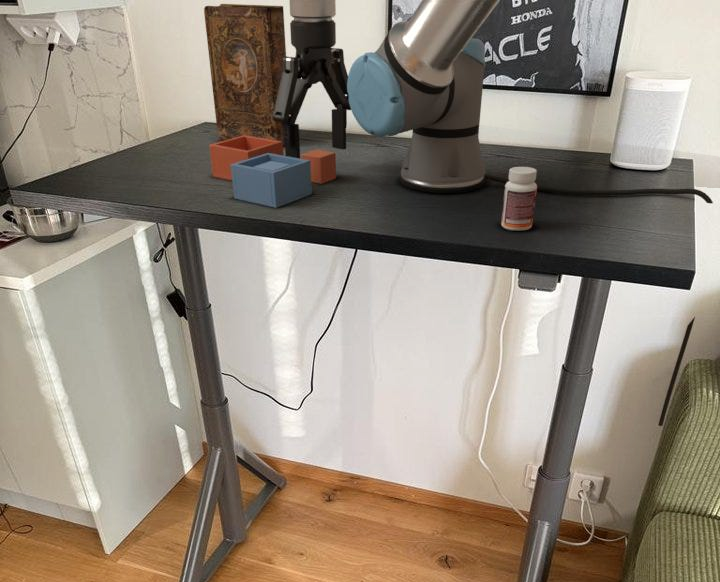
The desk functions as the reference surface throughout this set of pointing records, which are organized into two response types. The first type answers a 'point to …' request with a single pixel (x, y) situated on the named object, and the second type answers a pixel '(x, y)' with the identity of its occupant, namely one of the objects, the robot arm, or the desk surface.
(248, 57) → the book
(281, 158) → the blue bin
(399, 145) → the desk surface
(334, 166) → the clay block
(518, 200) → the pill bottle
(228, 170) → the clay bin
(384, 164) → the desk surface
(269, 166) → the blue block
